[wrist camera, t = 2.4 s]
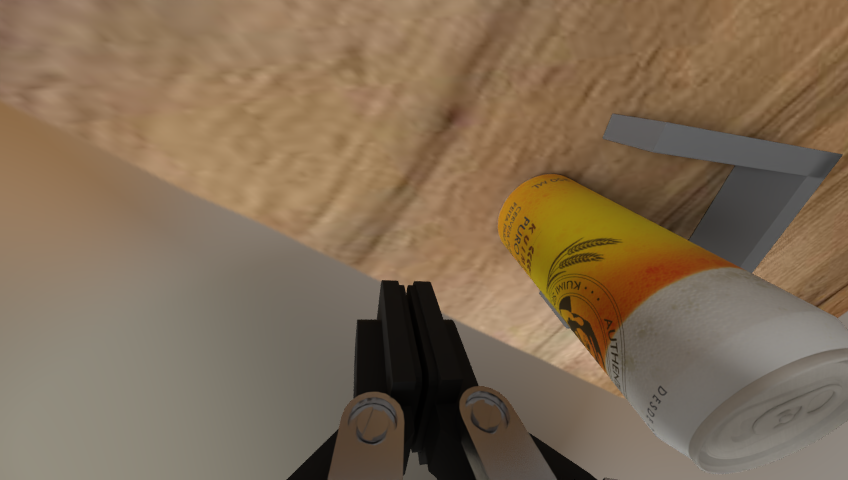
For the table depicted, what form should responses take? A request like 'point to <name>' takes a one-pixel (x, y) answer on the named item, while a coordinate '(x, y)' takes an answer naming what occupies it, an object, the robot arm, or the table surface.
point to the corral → (735, 184)
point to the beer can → (682, 328)
